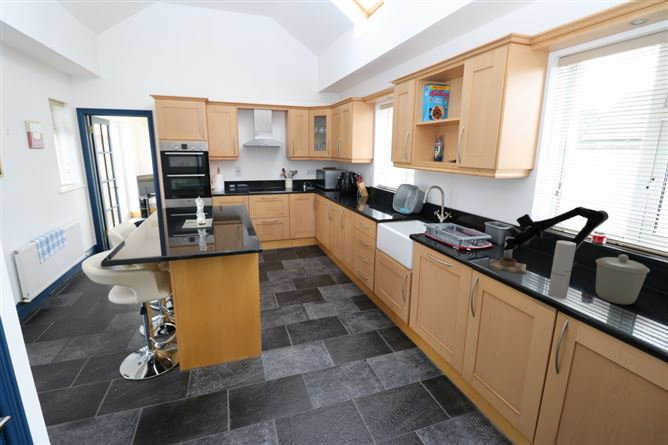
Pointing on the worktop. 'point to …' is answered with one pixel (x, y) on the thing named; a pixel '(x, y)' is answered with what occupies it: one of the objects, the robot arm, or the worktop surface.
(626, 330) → the worktop surface
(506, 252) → the steel tube
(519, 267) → the oak base board
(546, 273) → the worktop surface
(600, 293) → the canister
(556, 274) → the cylindrical container
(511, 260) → the wooden collar
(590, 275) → the worktop surface
